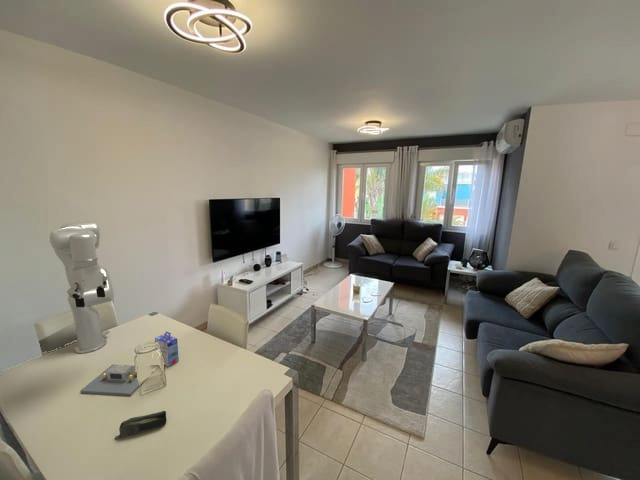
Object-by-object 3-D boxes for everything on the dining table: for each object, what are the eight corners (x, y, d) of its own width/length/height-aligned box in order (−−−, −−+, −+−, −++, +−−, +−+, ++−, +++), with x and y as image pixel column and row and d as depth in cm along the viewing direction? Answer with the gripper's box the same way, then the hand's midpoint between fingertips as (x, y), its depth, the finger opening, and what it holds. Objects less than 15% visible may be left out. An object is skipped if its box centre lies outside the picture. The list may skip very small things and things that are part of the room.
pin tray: (113, 366, 121) (111, 358, 120) (156, 369, 120) (156, 361, 120) (80, 393, 106) (79, 384, 105) (130, 396, 105) (129, 387, 104)
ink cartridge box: (179, 360, 127) (177, 333, 124) (169, 367, 122) (166, 339, 119) (166, 354, 131) (164, 328, 128) (155, 360, 126) (153, 333, 123)
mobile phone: (166, 408, 94) (115, 421, 88) (165, 414, 92) (112, 428, 85) (166, 419, 95) (116, 433, 89) (166, 426, 92) (113, 441, 86)
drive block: (116, 373, 115) (115, 364, 114) (133, 374, 115) (132, 365, 114) (107, 381, 111) (106, 371, 110) (125, 382, 110) (124, 372, 109)
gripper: (95, 257, 116) (100, 293, 119) (54, 269, 99) (62, 310, 102) (111, 258, 115) (116, 294, 119) (73, 270, 99) (80, 311, 102)
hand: (91, 301), depth 111 cm, fingers open, 9 cm apart
